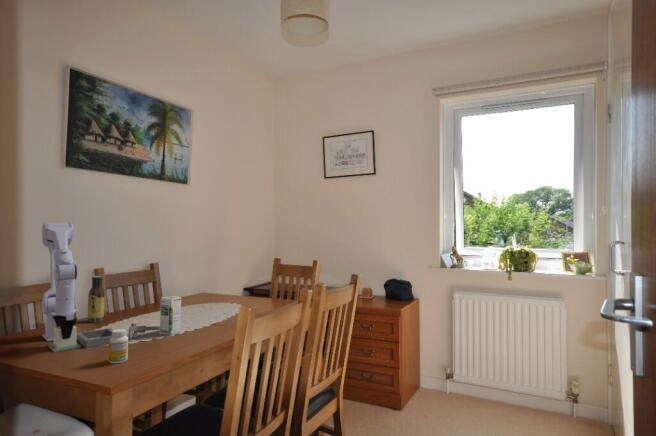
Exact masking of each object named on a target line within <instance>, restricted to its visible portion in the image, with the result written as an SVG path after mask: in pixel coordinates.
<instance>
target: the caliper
mask: <svg viewBox="0 0 656 436" xmlns="http://www.w3.org/2000/svg"><path fill="white" fill-rule="evenodd" d="M148 331H160V325H157V326H156V325H155V326H153V325H152V326H147V325H137V323H135V322H134V323H133V322H132V323H131V324H130V326H129V329H128V331H127V333H128V334H127V337H128V341H129V340H130V341H132V340H135V339H136V338H137V336H138V334H139V333H140V334H145V333H146V332H148Z"/></svg>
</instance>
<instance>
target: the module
mask: <svg viewBox="0 0 656 436" xmlns="http://www.w3.org/2000/svg"><path fill="white" fill-rule="evenodd" d="M77 328H78V327H77V326H75V325H74V326H73V329H72V333H71V337H70V339H62V334H61V328H60V326H59V327H58V328H54V340H53V343H54V346H55V347H56V348H60V347H66V346H71V345H76V344H77V343H78V341H77V333H78V332H77V331H78V329H77Z"/></svg>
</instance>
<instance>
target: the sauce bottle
mask: <svg viewBox="0 0 656 436" xmlns="http://www.w3.org/2000/svg"><path fill="white" fill-rule="evenodd" d="M91 282H92V283H91V289H90V290H89V292H88V298H87V299H88V300H87V301H88V302H87V321H88V322H89V323H101V322H103V321H104V317H105V297H106V296H105V290H104V288H103V275H94V276H91Z"/></svg>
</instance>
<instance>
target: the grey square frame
mask: <svg viewBox="0 0 656 436" xmlns="http://www.w3.org/2000/svg"><path fill="white" fill-rule="evenodd" d="M113 330H114V329H113V328H110V327H107V328H101V329H95V330H94V329H93V330H89V331H82V332H77V343H80V344H81V346H83V347H84V348H86V349H88V348H95V347H99V346H105V345H109V340H110V338H112V337H113V336H112V331H113ZM106 335H107V336H106ZM99 336H101V337H99ZM94 337H95V338H94Z"/></svg>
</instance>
